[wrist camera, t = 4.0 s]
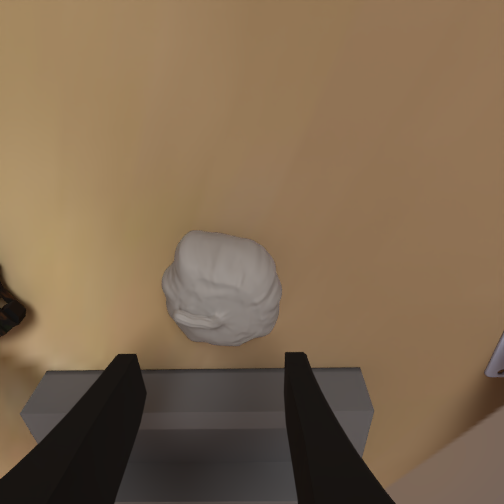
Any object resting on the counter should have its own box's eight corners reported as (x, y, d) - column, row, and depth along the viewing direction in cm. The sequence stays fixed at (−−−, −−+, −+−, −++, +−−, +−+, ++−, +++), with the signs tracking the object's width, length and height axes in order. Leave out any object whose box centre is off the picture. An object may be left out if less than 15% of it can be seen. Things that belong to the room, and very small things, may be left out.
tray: (360, 367, 22) (374, 410, 19) (339, 468, 28) (347, 511, 25) (46, 370, 22) (19, 413, 20) (94, 470, 28) (79, 512, 26)
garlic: (147, 258, 18) (111, 330, 13) (218, 188, 16) (204, 245, 11) (231, 321, 20) (224, 400, 16) (302, 266, 18) (319, 340, 14)
